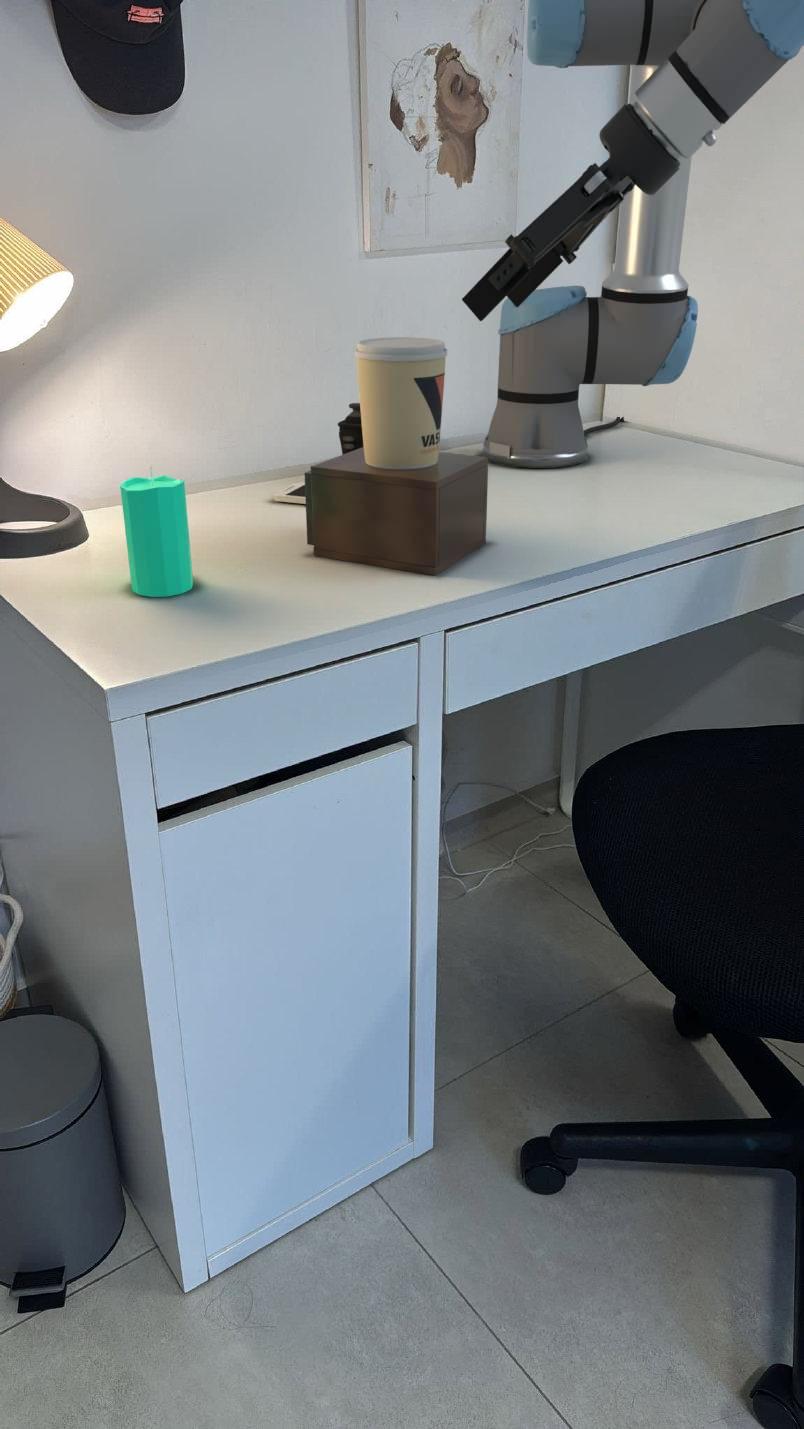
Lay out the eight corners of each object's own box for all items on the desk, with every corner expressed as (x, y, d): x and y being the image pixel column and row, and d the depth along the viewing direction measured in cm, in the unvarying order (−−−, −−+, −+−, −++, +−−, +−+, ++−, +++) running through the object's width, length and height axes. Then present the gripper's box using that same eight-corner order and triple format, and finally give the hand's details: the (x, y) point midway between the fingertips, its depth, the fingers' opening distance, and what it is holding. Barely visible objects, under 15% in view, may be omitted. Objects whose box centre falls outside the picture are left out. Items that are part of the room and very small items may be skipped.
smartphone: (387, 512, 133) (387, 504, 132) (273, 501, 138) (273, 493, 137) (407, 498, 139) (407, 491, 138) (298, 488, 144) (297, 481, 143)
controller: (334, 482, 147) (332, 406, 143) (374, 463, 157) (373, 392, 153) (363, 485, 145) (361, 408, 141) (401, 466, 156) (401, 394, 151)
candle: (198, 593, 106) (188, 470, 101) (136, 599, 104) (122, 475, 99) (188, 574, 111) (177, 456, 106) (128, 581, 109) (114, 461, 104)
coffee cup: (437, 473, 110) (438, 349, 105) (347, 469, 112) (344, 346, 106) (452, 454, 118) (454, 337, 113) (368, 450, 120) (366, 336, 115)
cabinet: (313, 555, 117) (310, 466, 113) (371, 527, 127) (370, 444, 123) (435, 575, 111) (436, 481, 107) (485, 543, 121) (488, 457, 117)
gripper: (664, 162, 88) (481, 348, 99) (699, 166, 109) (544, 319, 120) (604, 88, 87) (426, 284, 99) (651, 106, 108) (500, 266, 120)
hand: (491, 303), depth 110 cm, fingers open, 13 cm apart
